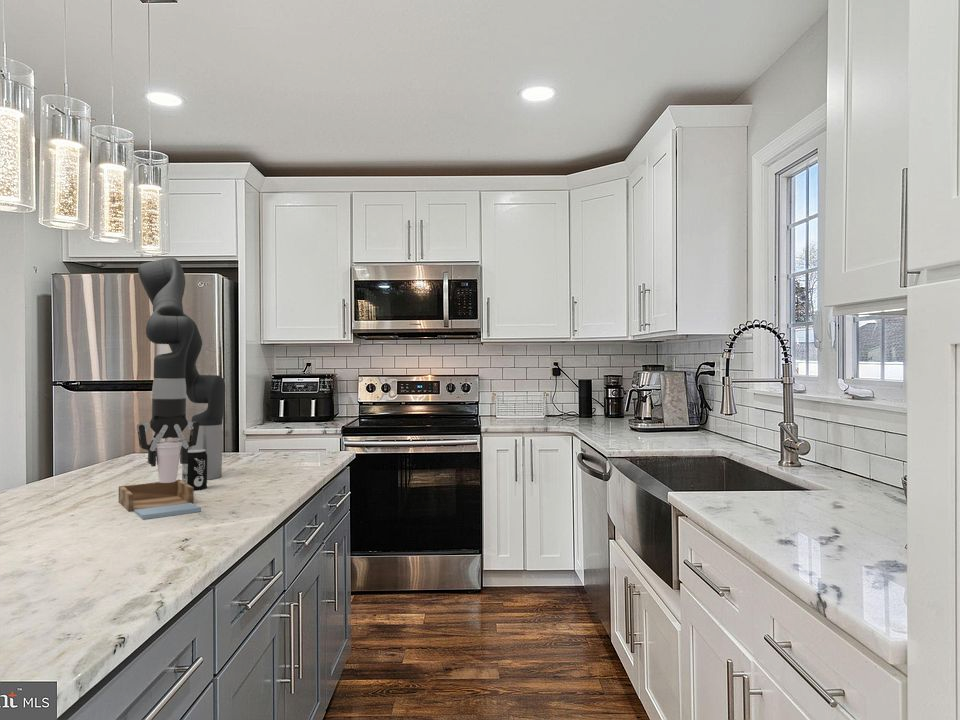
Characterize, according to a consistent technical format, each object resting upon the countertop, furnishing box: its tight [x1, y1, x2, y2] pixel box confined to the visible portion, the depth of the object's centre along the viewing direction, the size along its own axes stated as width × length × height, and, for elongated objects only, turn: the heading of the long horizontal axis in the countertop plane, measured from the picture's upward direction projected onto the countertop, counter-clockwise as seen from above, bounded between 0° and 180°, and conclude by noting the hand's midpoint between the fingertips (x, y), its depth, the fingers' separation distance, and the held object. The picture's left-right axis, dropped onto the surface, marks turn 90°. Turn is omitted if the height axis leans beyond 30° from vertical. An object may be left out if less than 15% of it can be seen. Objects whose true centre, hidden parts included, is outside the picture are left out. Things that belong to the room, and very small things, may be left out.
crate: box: [118, 479, 195, 513], centre depth 163 cm, size 13×15×5 cm
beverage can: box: [181, 448, 208, 492], centre depth 181 cm, size 7×7×12 cm
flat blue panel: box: [133, 502, 202, 520], centre depth 154 cm, size 1×13×10 cm
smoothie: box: [155, 438, 183, 483], centre depth 154 cm, size 6×6×14 cm
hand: (168, 464), depth 154 cm, fingers closed on smoothie, 6 cm apart
